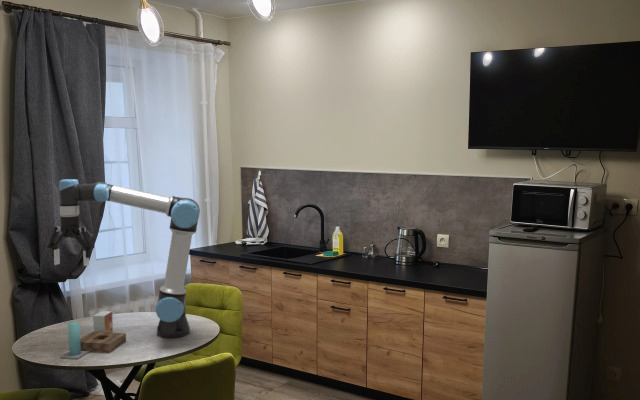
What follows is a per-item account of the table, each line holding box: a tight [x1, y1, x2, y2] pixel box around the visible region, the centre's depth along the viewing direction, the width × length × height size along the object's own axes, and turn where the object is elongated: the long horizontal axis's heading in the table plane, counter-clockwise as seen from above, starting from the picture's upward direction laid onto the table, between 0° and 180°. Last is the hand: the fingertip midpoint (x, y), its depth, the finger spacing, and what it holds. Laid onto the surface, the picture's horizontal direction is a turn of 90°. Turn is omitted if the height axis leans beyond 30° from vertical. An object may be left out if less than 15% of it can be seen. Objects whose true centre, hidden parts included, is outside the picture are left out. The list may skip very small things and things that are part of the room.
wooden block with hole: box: [80, 331, 127, 354], centre depth 245 cm, size 16×14×4 cm
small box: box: [92, 310, 114, 333], centre depth 260 cm, size 8×6×10 cm
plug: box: [67, 321, 81, 355], centre depth 234 cm, size 4×4×13 cm
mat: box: [59, 351, 90, 360], centre depth 235 cm, size 8×8×1 cm
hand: (71, 264), depth 240 cm, fingers open, 13 cm apart
